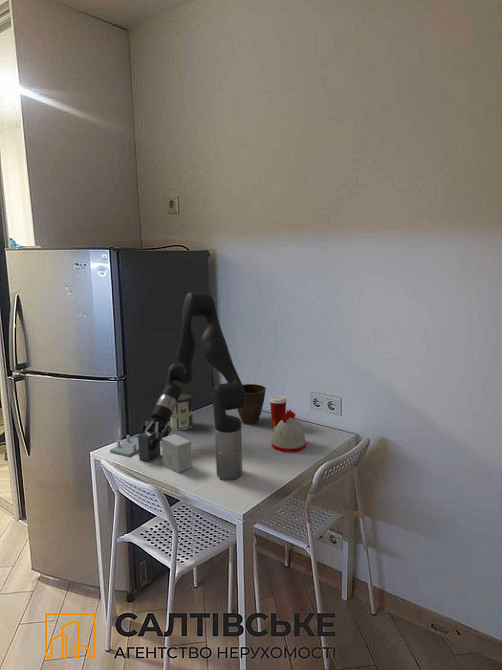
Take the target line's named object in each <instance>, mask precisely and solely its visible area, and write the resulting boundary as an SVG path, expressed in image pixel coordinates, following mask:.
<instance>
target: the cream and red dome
mask: <svg viewBox="0 0 502 670" xmlns="http://www.w3.org/2000/svg"><path fill="white" fill-rule="evenodd" d="M281 418H282V420H281V421H280V422H279V423H278V425H277V426H276V427H274V428H272V433H273V434H272V436H271V447H272V448H273V449H274V450H276V451H279V452H282V453H297V452H298V453H299V452H301V451H303V450H305V448H306V447H307V442H306V436H305V431H304V430H303V428H302V426H301V424H300V423H299V422H298V421H297V419H295V418H296V413H295V412H294V411H292V410H291V409H288V410H286V413H285V412H284V413H283V416H281Z"/></svg>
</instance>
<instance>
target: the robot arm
mask: <svg viewBox="0 0 502 670" xmlns="http://www.w3.org/2000/svg"><path fill="white" fill-rule="evenodd" d="M182 307H183V308H182V315H181V318H182V319H181V326H180V327H181V328H180V337H179V343H178V347H177V349H176V350H177V351H176V353H175V354H176V355H175V358H176V360H177V362H179V363H181V364H179V363H177V362H176V363H172V364H170V366H169V367H168V369H167V377H166V382H165V385H164V388H163V390H162V392H161V394H160V397H159V398H158V399H157V401H156V403H155V405H154V408H153V409H152V412H151V415H150V418H149V419H148V420H146V421H145V420H141V423H140V428H139V433H138V435H140V434H142V433H144V432H145V431H149V430H151V431H155V433H156V435H155V439H154V440H153V442H152V444H151V446H150V449H151V450H154V449H156V447H157V445H158V442H160V443H161V442H162V438H164V437H167V436H170V433H171V432H172V430H173V429H172V428H171V425H168V423H169V422H170V418H171V416H172V414H173V411H174V409H175V407H176V403H177V401H178V399H179V396H180V394H181V393H182V388H181V387H180V386H179V385H177V384H175V382H178V383H181V384H183V385H188V384H189V383H191V382H192V380H193V378H194V366H193V365H194V364H193V363H194V357H195V352H196V349H197V340H196V336H195V334H194V330H193V326H192V320H193V317H201V318H202V317H203V318H204V320H205V324H206V326H205V329H204V331H203V333H202V336H201V339H200V347H201V349H202V354H203V356H204V359H205V360H206V362H207V363H208V364H209V365H210V366H212V367H213V369H215V370H216V371H218V372H219V373H220V374H221V375H222V376H223V377H224V378H225V380H226V383H219V384H215V385H213V387H212V388H213V389H212V406H213V418H214V419H213V420H214V427H215V428H214V431H215V432H214V433H215V435H214V437H215V465H216V467H215V468H216V469H215V470H216V476H217V477H218V478H219V480H238V478H240V477H241V476H242V475H243V449H242V448H243V445H242V440H243V438H242V421H241V418H240V417H238V416H234V415H231V414H230V415H229V414H227V412H226V411H231V410H238V408H242V407H244V406H245V404H246V395H245V391H244V388H243V385H244V384H242V383H243V382H242V381H241V379H240V377H239V375H238V374H239V373H238V372H237V370H236V368H235V365H234V363H233V359H232V357H231V354H230V351H229V347H228V344H227V340H226V339H225V336H224V333H223V331H222V328H221V324H220V321H219V316H218V313H217V308H216V307H217V306H216V303H215V301H214V298H213V297H212V295H211V294H208V293H205V292H193V291H192V292H188V293H187V294H186V295H185V297H184V301H183V306H182ZM174 381H175V382H174Z"/></svg>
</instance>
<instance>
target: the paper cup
mask: <svg viewBox="0 0 502 670" xmlns="http://www.w3.org/2000/svg"><path fill="white" fill-rule="evenodd" d="M287 402H288V400H287V398H286V396H284V395H274V396H271V397H270V399H269V403H270V404H269V405H270V415H271V417H270V418H271V427H272V429H273V428H274V427H276V426H277V425H278V423H279V422H280V421H281V420H282V418H281V416H283V413H284V412H285V413H286V411H287Z"/></svg>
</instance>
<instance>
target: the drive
mask: <svg viewBox="0 0 502 670" xmlns="http://www.w3.org/2000/svg"><path fill="white" fill-rule="evenodd" d="M155 435H156V433H155V431H151V430H149V431H145V432H144V433H142V434H138V435H137V438H138V444H139V452H138V456H139V461H142V462H146V463H151V462H152V461H154V460H156V459H157V458H159V457H160V456H161V455H162V454H161V453H162V452H161V441H160V442H158V445H157V447H156V449H154V450H151V449H150V446H151V444H152V442H153V440H154V439H155Z"/></svg>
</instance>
